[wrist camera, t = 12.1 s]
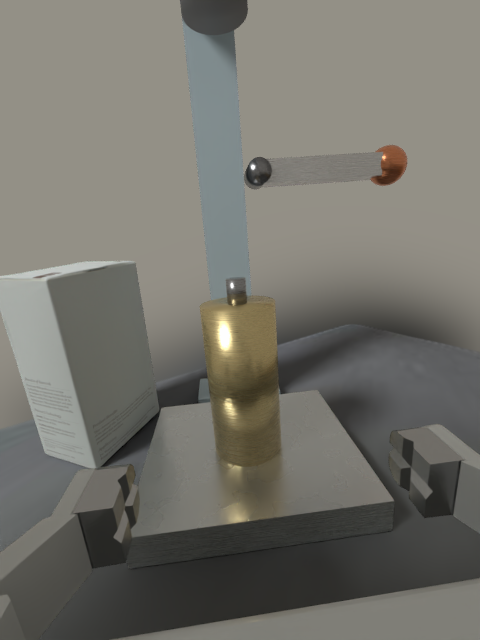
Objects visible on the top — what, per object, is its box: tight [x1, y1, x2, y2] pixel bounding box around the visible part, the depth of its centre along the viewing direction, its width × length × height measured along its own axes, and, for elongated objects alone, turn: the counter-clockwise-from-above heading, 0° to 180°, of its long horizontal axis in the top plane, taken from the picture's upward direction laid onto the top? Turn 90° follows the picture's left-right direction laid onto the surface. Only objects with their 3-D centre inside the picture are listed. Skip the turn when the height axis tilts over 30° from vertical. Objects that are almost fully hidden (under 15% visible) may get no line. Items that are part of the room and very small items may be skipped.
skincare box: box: [0, 261, 160, 468], centre depth 25 cm, size 8×6×15 cm
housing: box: [200, 277, 281, 467], centre depth 19 cm, size 5×5×12 cm
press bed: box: [127, 390, 394, 569], centre depth 21 cm, size 14×12×2 cm
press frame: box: [180, 0, 280, 403], centre depth 22 cm, size 8×15×34 cm, turn 5°
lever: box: [244, 145, 407, 189], centre depth 26 cm, size 14×3×3 cm, turn 95°
